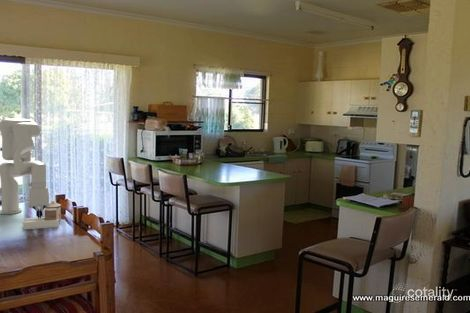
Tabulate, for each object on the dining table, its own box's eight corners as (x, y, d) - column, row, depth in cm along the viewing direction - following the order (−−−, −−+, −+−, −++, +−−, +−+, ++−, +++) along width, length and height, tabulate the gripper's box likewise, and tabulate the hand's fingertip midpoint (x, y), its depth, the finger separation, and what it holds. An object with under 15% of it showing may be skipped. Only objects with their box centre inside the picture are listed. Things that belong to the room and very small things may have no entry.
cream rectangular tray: (23, 225, 237) (23, 218, 236) (58, 223, 244) (58, 216, 244) (22, 229, 229) (22, 222, 229) (58, 226, 237) (58, 219, 236)
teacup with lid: (63, 221, 249) (62, 201, 247) (46, 223, 243) (46, 203, 242) (58, 216, 258) (58, 197, 257) (42, 218, 253) (41, 199, 252)
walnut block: (44, 222, 240) (44, 208, 239) (56, 221, 242) (56, 208, 241) (44, 224, 235) (44, 210, 234) (56, 224, 237) (56, 210, 237)
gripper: (23, 186, 227) (24, 220, 229) (53, 185, 233) (54, 218, 235) (24, 184, 234) (24, 216, 236) (53, 183, 240) (53, 215, 242)
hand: (39, 217), depth 236 cm, fingers closed
